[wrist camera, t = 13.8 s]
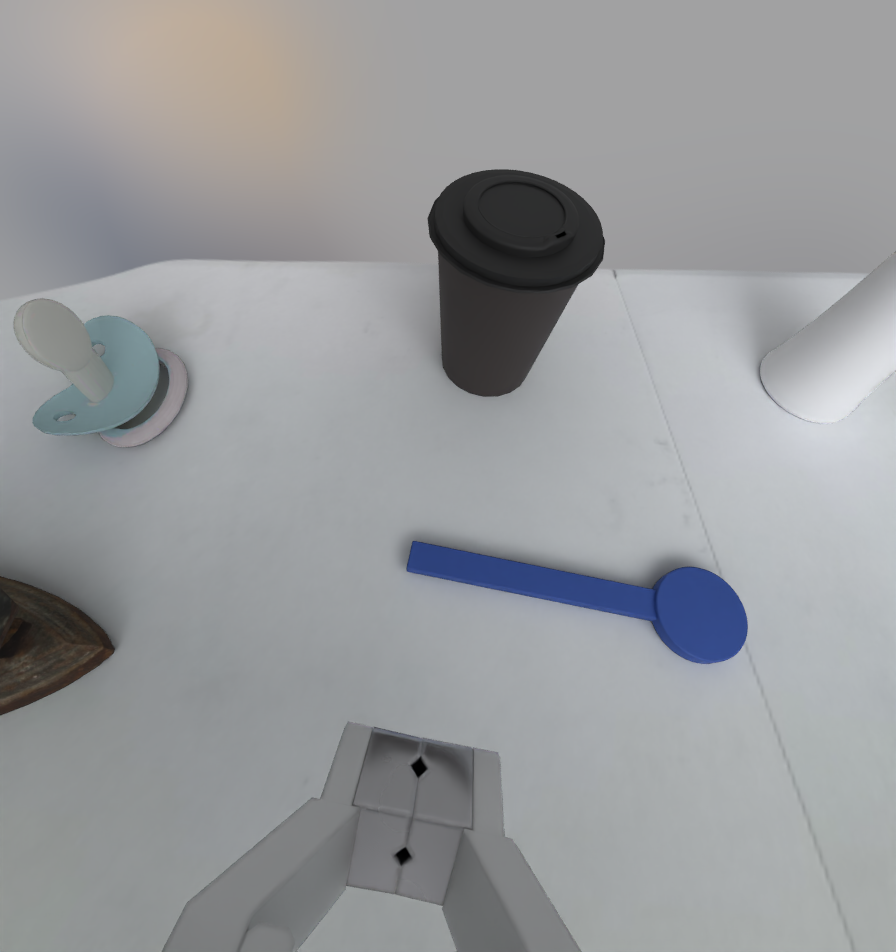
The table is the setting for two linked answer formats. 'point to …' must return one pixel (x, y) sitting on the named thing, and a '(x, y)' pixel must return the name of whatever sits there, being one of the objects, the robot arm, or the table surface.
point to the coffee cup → (507, 271)
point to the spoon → (611, 597)
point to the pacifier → (99, 373)
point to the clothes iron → (43, 644)
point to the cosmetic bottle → (838, 353)
